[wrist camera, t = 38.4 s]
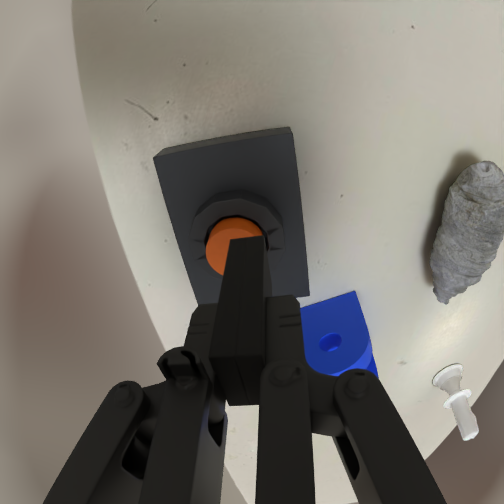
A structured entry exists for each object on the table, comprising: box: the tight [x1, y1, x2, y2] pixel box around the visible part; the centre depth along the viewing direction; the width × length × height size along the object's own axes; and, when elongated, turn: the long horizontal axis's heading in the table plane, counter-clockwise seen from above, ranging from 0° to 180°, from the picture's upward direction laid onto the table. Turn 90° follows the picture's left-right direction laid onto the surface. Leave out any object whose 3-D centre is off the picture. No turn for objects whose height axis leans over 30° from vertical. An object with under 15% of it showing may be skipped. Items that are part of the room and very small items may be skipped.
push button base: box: [153, 127, 310, 306], centre depth 25 cm, size 14×10×4 cm
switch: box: [206, 217, 263, 275], centre depth 22 cm, size 4×4×2 cm
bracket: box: [300, 291, 379, 379], centre depth 30 cm, size 18×8×9 cm, turn 113°
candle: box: [433, 364, 479, 440], centre depth 33 cm, size 5×5×12 cm
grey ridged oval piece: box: [429, 161, 504, 304], centre depth 23 cm, size 6×14×8 cm, turn 178°
